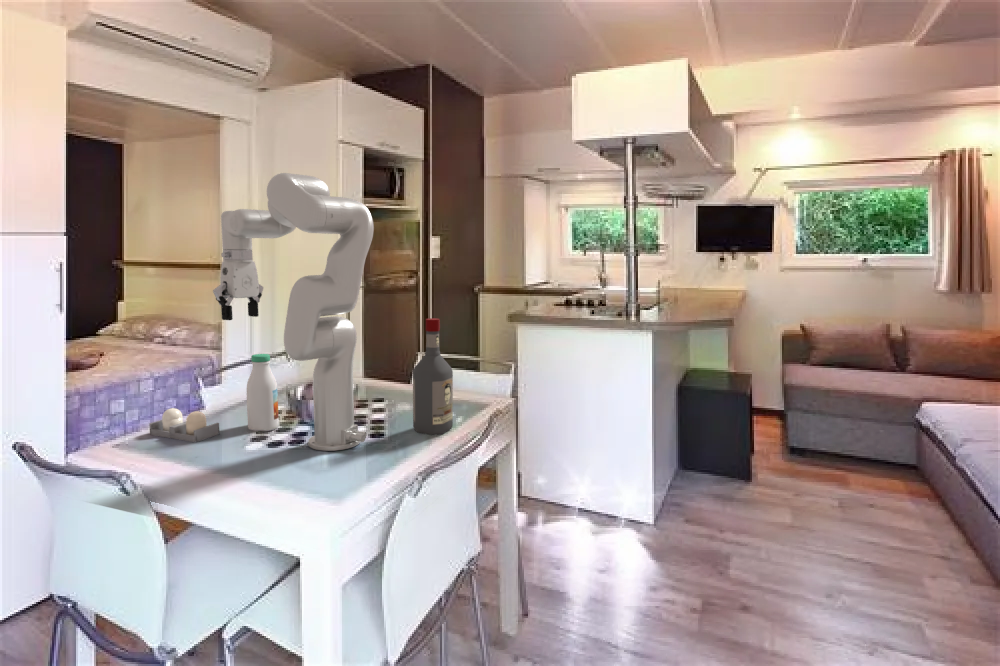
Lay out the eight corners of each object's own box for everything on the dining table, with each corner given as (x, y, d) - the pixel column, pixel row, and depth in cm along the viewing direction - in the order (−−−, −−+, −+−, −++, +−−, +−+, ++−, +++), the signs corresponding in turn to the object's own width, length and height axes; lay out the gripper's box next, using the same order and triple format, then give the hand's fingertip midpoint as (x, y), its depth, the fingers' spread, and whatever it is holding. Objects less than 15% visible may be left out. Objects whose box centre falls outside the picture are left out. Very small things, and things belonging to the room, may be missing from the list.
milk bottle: (268, 433, 159) (265, 358, 156) (241, 431, 160) (238, 356, 158) (284, 425, 166) (281, 353, 164) (259, 423, 168) (256, 351, 165)
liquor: (409, 431, 162) (408, 319, 158) (427, 423, 170) (427, 316, 166) (438, 436, 158) (438, 322, 154) (456, 427, 166) (456, 318, 162)
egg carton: (219, 436, 156) (219, 422, 156) (195, 444, 149) (195, 430, 149) (175, 428, 162) (174, 416, 161) (150, 436, 155) (149, 423, 154)
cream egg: (187, 430, 158) (186, 407, 157) (172, 435, 154) (170, 411, 153) (174, 428, 160) (172, 405, 159) (158, 433, 155) (157, 409, 155)
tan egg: (210, 434, 155) (210, 410, 155) (197, 439, 151) (196, 414, 150) (196, 432, 157) (195, 408, 156) (182, 437, 152) (181, 412, 151)
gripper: (223, 257, 159) (227, 322, 161) (270, 256, 175) (273, 315, 177) (202, 256, 161) (205, 320, 164) (250, 256, 177) (252, 314, 180)
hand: (240, 318), depth 170 cm, fingers open, 9 cm apart
